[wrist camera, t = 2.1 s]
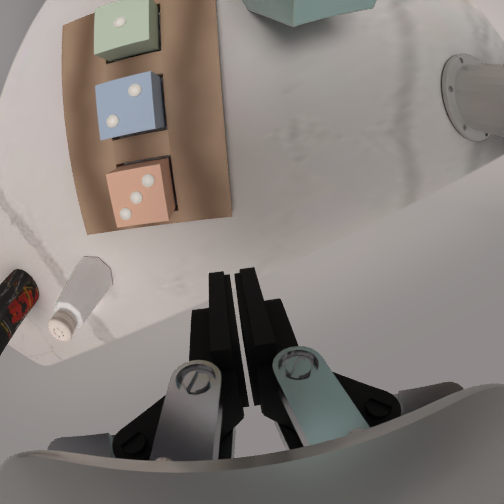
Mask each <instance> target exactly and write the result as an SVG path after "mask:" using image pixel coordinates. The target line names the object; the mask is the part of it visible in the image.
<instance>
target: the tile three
mask: <svg viewBox="0 0 504 504" xmlns="http://www.w3.org/2000/svg"><path fill="white" fill-rule="evenodd" d="M106 178H107V183H108V188H109V193H110V198H111V203H112V207H113V212H114V216H115V221H116V225H117V228H119V227H126V226H133V225H140V224H148V223H155V222H163V221H169V220H170V218H171V216H172V214H173V212H174V210H175V208H176V204H175V198H174V191H173V184H172V177H171V170H170V163H169V158H162V159H156V160H150V161H144V162H139V163H134V164H128V165H123V166H120V167H118V168H116V169H114V170H112V171H111V172H109V173H107V174H106Z"/></svg>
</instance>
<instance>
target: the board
mask: <svg viewBox="0 0 504 504" xmlns="http://www.w3.org/2000/svg"><path fill="white" fill-rule="evenodd" d="M154 2H155V3H156V5H157V7H158V11H160V22H161V51H157V52H152V53H148V54H143V55H139V56H135V57H131V58H127V59H123V60H120V61H116V62H113V61H111V62H110V61H108V60H105V59H103V58H101V57H98V56H96V55H94V19H95V13H93V14H90V15H87V16H85V17H82V18H80V19H77V20H75V21H73V22H70V23H68V24H66V25H64V26H63V33H62V89H63V105H64V116H65V125H66V134H67V141H68V148H69V155H70V161H71V166H72V172H73V177H74V182H75V187H76V192H77V196H78V201H79V205H80V209H81V213H82V217H83V221H84V225H85V228H86V232H87V235H90V234H97V233H103V232H110V231H117V230H124V229H131V228H138V227H146V226H154V225H161V224H169V223H178V222H186V221H195V220H204V219H213V218H222V217H232V207H231V196H230V185H229V174H228V163H227V151H226V140H225V128H224V115H223V103H222V89H221V76H220V62H219V47H218V32H217V16H216V0H154ZM148 71H151V72H153V73H155V74H156V75H158V76H159V77H163V84H164V97H165V108H166V118H167V128H168V130H163V131H157V132H151V133H146V134H141V135H136V136H131V137H126V138H122V139H119V136H118V137H114V138H109V139H105V140H100V133H99V124H98V115H97V104H96V92H95V85H99V84H102V83H105V82H109V81H112V80H116V79H119V78H123V77H127V76H131V75H135V74H139V73H144V72H148ZM165 155H171V162H172V170H173V177H174V184H175V191H176V198H177V204H178V205H176V208H175V210H174V212H173V214H172V216H171V218H170V220H169V221H163V222H155V223H148V224H140V225H133V226H126V227H119V228H117V225H116V221H115V216H114V212H113V207H112V203H111V198H110V193H109V188H108V183H107V178H106V174H107V173H109V172H111V171H112V170H114V169H116V168H118V167H120V166H123V163H126V162H131V161H136V160H141V159H147V158H153V157H159V156H165Z"/></svg>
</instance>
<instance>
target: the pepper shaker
mask: <svg viewBox="0 0 504 504" xmlns="http://www.w3.org/2000/svg"><path fill="white" fill-rule="evenodd" d="M112 284H113V282H112V276H111V270H110V268H109V267H108V266H107V265H106V264H105V263H104V262H102V261H101V260H100V259H99V258H96V257H83V258H82V260H81V261H80V262H79V263H78V265H77V266H76V267H75V269H74V271H73V273H72V274H71V276H70V278H69V280H68V282H67V283H66V285H65V287H64V289H63V291H62V293H61V295H60V297H59V298H58V300H57V302H56V304H55V307H54V311H55V314H54V316H53V317H52V319H51V320H50V321H49V322H48V329H49V331H50V333H51V334H52V335H53V336H54V337H55V338H56V339H58V340H60V341H63V342H67V341H69V340H70V339H71V338H72V334H73V332H74V330H75V329H78V328H79V327H80V326H81V325H82V324H83V323H84V322H85V320H86V319H87V318H88V316H89V315H90V313H91V312H92V311H93V309H94V308H95V307H96V305H97V304H98V302H99V301H100V300H101V298H102V297H103V296H104V294H105V293H106V292H107V290H108V289H109V288H110V287H111V285H112Z"/></svg>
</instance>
